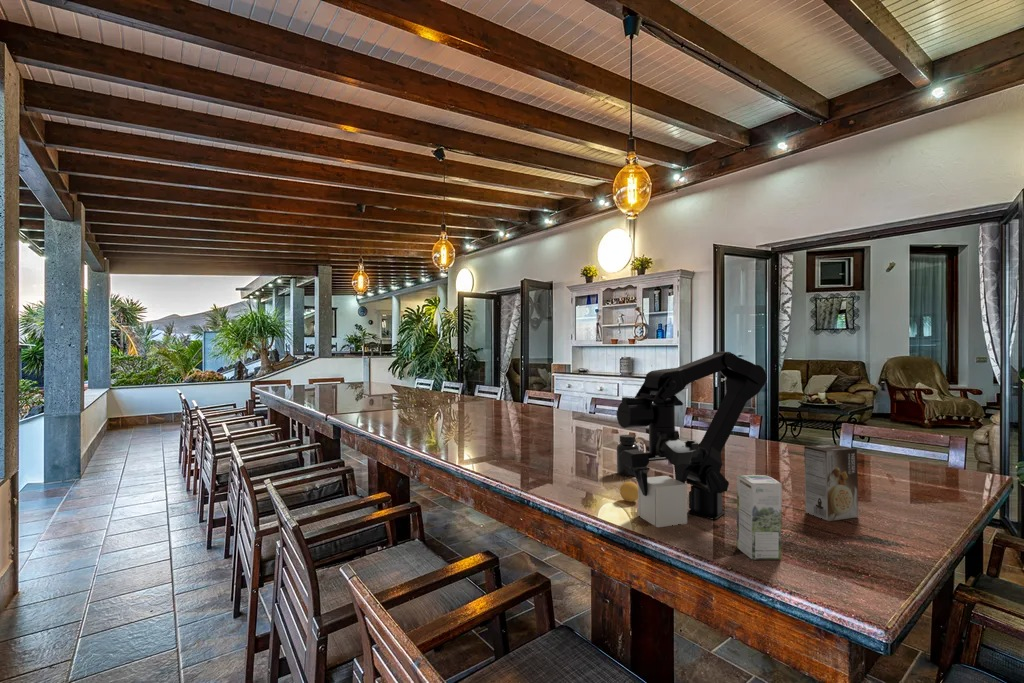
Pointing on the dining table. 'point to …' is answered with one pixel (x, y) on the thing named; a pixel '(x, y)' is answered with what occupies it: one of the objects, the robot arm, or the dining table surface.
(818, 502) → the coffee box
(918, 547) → the dining table surface
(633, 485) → the ball
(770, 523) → the syrup box
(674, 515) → the gray cube
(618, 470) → the supplement bottle
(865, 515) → the dining table surface
